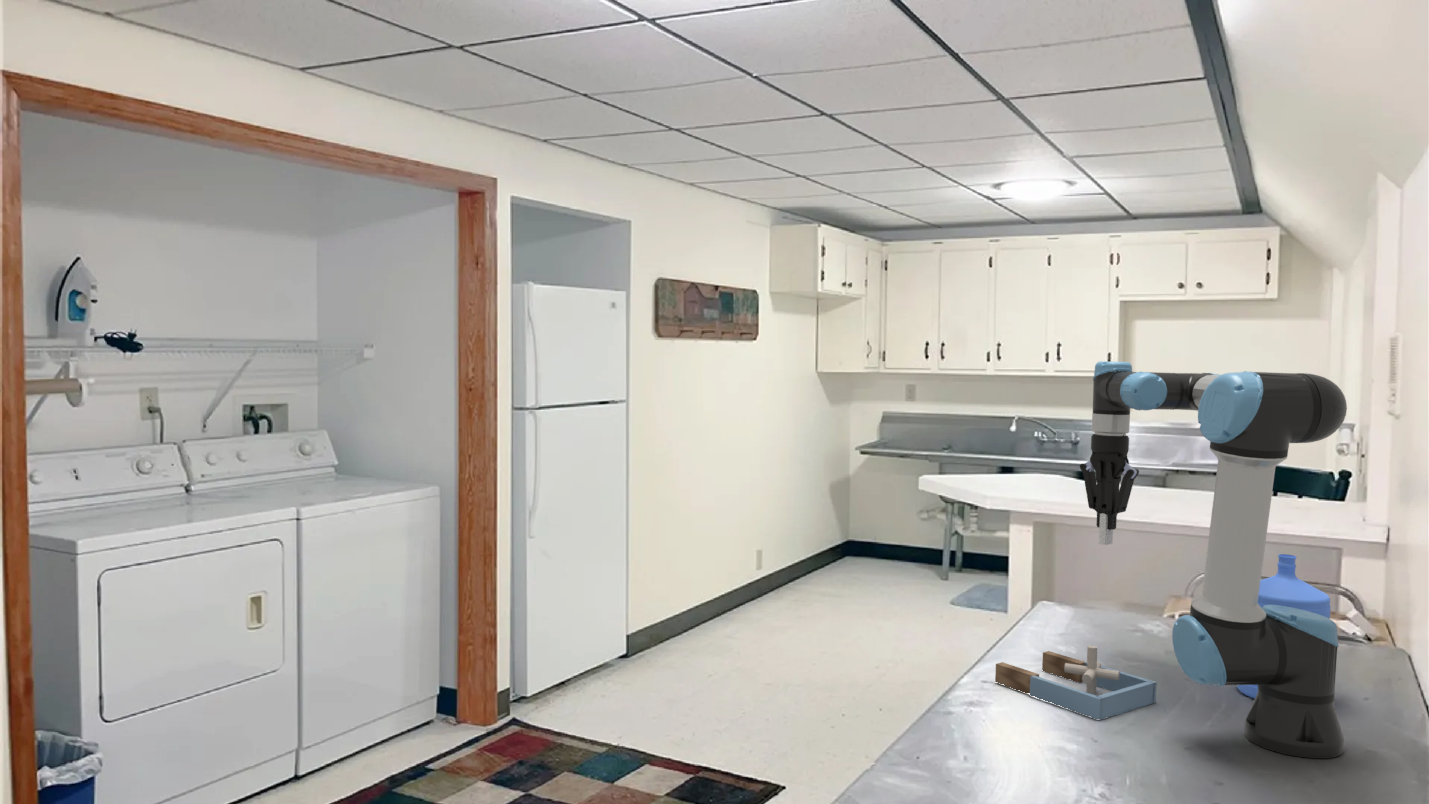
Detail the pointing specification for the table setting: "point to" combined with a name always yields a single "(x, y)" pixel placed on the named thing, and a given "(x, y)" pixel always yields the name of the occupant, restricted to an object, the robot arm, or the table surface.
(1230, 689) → the table surface
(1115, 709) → the bin
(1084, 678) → the pipe connector
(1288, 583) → the water jug
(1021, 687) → the slot rails
